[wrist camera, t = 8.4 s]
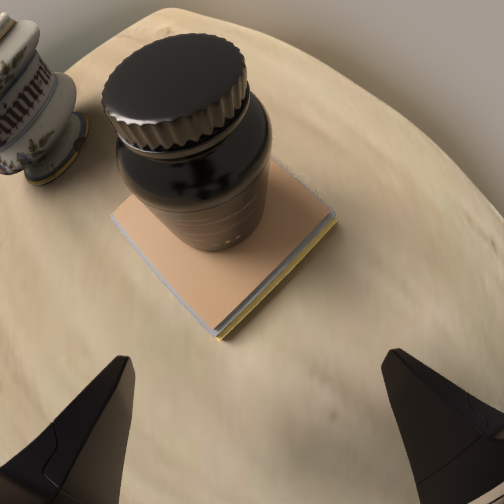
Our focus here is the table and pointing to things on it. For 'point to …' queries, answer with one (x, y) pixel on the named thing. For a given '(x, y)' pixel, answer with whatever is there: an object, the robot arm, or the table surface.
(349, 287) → the table surface
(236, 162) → the supplement bottle
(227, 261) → the note pad
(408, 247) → the table surface
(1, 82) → the apothecary jar
